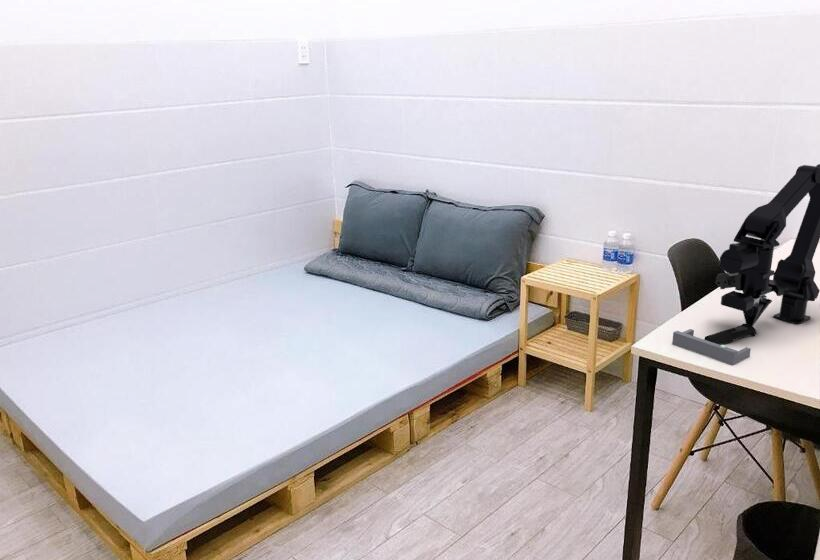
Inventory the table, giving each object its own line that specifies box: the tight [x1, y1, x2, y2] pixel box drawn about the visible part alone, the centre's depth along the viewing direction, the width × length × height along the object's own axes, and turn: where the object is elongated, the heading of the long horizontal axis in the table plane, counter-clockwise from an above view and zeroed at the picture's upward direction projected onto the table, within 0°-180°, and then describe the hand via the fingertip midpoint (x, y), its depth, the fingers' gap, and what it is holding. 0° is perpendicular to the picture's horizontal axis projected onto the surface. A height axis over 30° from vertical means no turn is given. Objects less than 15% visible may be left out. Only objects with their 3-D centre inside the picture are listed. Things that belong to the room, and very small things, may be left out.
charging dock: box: [671, 328, 752, 366], centre depth 156 cm, size 7×15×3 cm, turn 36°
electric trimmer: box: [704, 323, 758, 345], centre depth 162 cm, size 4×16×3 cm, turn 116°
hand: (749, 327), depth 166 cm, fingers closed
